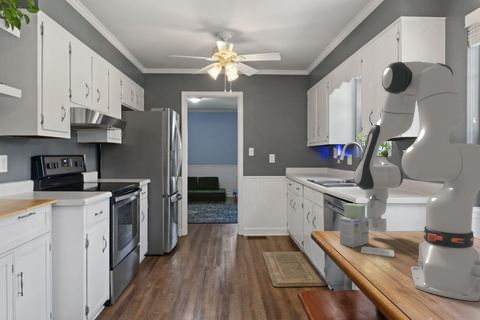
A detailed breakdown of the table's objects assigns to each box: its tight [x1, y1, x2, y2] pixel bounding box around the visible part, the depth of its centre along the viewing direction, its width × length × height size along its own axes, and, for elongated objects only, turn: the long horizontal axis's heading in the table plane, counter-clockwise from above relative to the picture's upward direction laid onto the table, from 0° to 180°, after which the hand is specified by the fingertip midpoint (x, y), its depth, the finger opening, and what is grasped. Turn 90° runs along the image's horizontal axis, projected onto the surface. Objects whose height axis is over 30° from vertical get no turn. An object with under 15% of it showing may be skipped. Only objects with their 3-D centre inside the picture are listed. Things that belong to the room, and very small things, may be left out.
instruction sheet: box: [360, 245, 395, 258], centre depth 116 cm, size 8×11×1 cm
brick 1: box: [343, 202, 366, 219], centre depth 126 cm, size 4×7×5 cm, turn 51°
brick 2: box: [369, 217, 387, 233], centre depth 135 cm, size 4×7×5 cm, turn 55°
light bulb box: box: [339, 215, 370, 249], centre depth 126 cm, size 11×7×11 cm, turn 127°
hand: (376, 226), depth 135 cm, fingers closed on brick 2, 4 cm apart
